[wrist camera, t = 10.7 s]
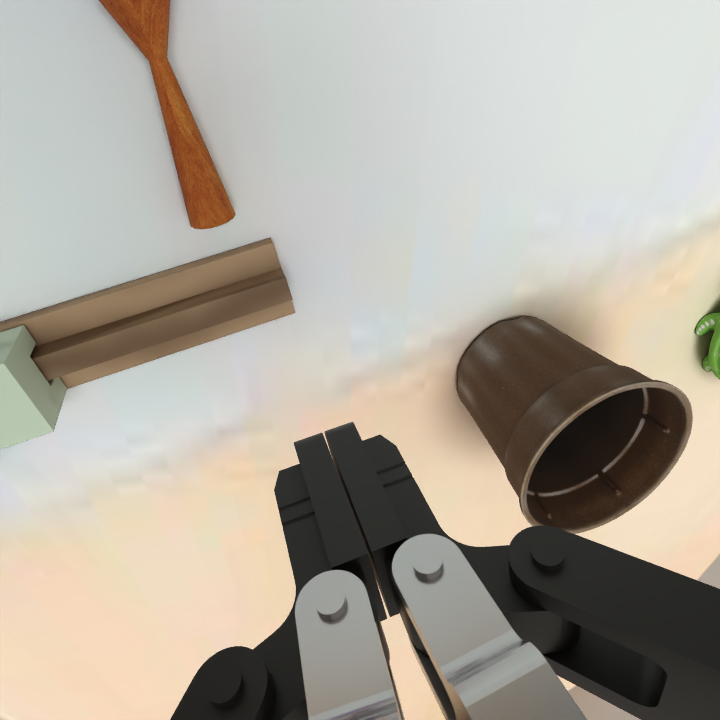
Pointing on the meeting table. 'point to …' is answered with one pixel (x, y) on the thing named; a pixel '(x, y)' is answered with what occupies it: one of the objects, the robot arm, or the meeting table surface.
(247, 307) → the rail
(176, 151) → the kendama
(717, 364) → the turtle holder
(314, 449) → the robot arm
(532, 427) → the plant pot
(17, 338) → the keeper
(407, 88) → the meeting table surface
